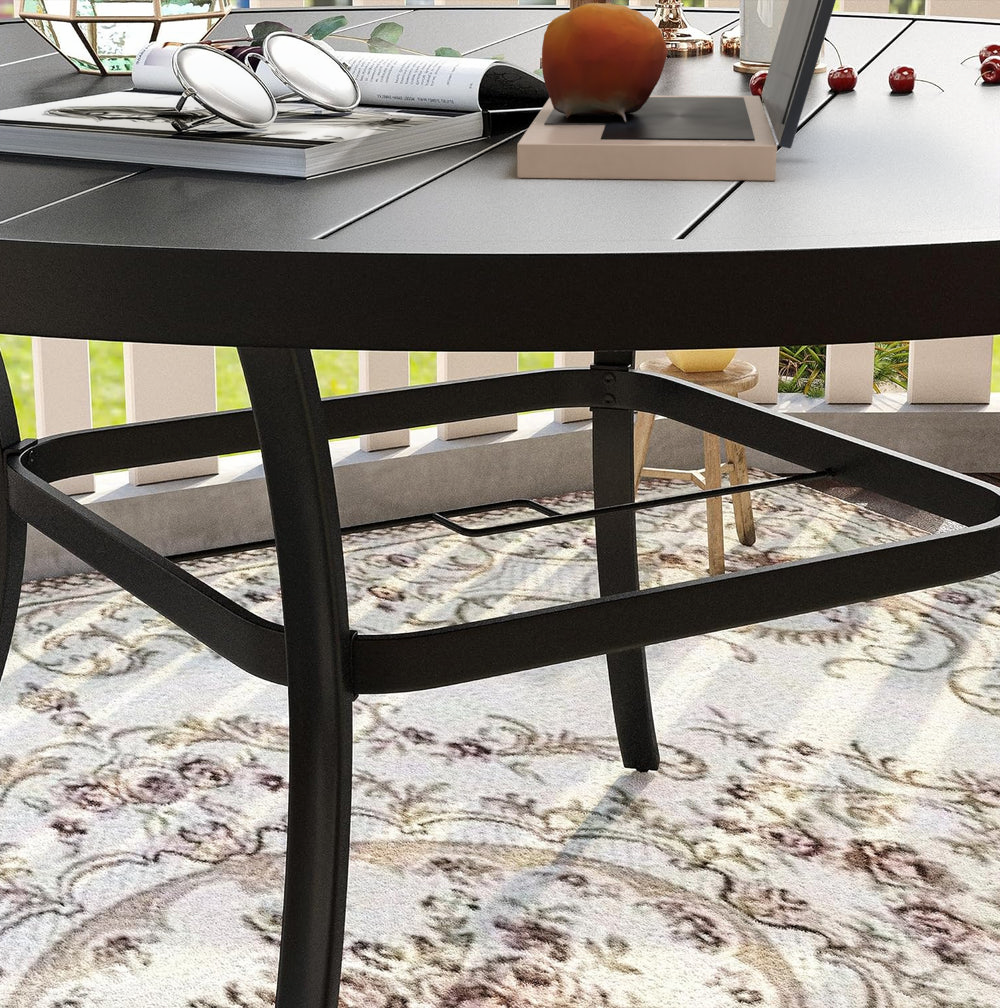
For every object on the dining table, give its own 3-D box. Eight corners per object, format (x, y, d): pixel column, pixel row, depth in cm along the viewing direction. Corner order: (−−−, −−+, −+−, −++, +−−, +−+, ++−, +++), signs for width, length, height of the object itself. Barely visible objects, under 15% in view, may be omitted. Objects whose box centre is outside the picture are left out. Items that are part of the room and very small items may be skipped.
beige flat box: (517, 178, 83) (517, 142, 82) (550, 123, 103) (550, 93, 102) (775, 181, 81) (777, 143, 80) (758, 124, 101) (759, 94, 100)
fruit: (528, 103, 86) (537, -19, 87) (542, 152, 94) (550, 39, 95) (660, 104, 85) (667, -20, 86) (663, 154, 93) (670, 40, 94)
